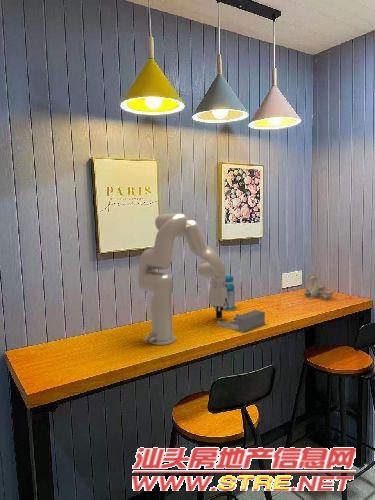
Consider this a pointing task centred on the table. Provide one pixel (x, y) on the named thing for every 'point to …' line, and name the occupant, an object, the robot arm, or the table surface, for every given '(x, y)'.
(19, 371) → the table surface
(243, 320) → the steel lip bracket
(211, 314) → the table surface
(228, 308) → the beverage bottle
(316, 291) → the chinaware
